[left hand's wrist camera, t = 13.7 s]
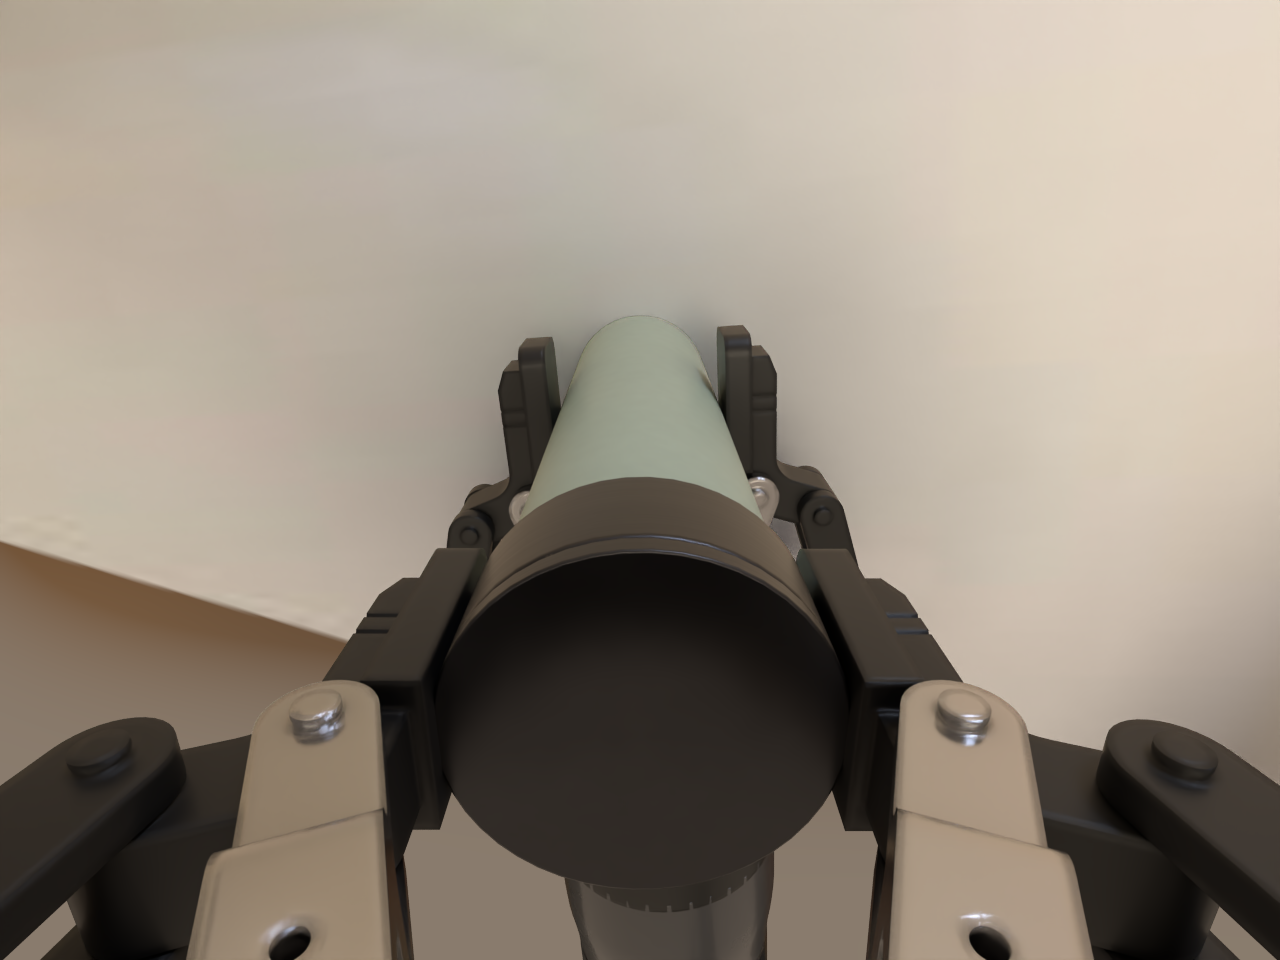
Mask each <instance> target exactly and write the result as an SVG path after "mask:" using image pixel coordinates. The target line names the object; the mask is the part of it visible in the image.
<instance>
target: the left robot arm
mask: <svg viewBox="0 0 1280 960" xmlns="http://www.w3.org/2000/svg"><path fill="white" fill-rule="evenodd" d="M486 563H487V556H486V552H485V550H484V549H483V548H438V549H436V551H435V552H434V554H433V555H432V557H431V559H430V561H429V562H428V564H427V566H426V567H425V569H424V571H423V573H422V574H421V576H420V578H402V579H401V580H399V581H398V582H397V583H395V584H394V585H392V586H391V587H389V588H388V589H386V590H385V591H383V592H382V593H381V594H379V596H378V597H377V599H376V600H375V602H374V603H373V605H372V606H371V608H370V609H369V611H368V612H367V617H364V618H363V620H362V621H361V623H360V624H359V626H358V628H357V629H356V634H353V635H352V637H351V638H350V640H349V641H348V643H347V644H346V646H345V647H344V649H343V650H342V652H341V653H340V655H339V656H338V658H337V659H336V661H335V662H334V664H333V665H332V667H331V668H330V670H329V672H328V673H327V675H326V676H325V678H324V679H323V681H322V682H318V683H314V684H310V685H307V686H304V687H301V688H298V689H296V690H294V691H292V692H289V693H288V694H286V695H284V696H282V697H280V698H279V699H277V700H276V701H275V702H273V703H272V704H271V705H269V706H268V707H267V708H266V709H265V710H264V711H263V712H262V713H261V715H260V716H259V717H258V719H257V720H256V722H255V724H254V727H253V730H252V734H251V735H248V736H244V737H240V738H236V739H231V740H227V741H222V742H217V743H212V744H208V745H204V746H199V747H194V748H189V749H184V750H180V746H179V743H178V739H177V736H176V733H175V730H174V728H173V727H172V726H171V725H170V724H169V723H167V722H165V721H163V720H160V719H156V718H147V717H139V718H128V719H122V720H117V721H112V722H109V723H105V724H102V725H99V726H96V727H93V728H91V729H88V730H86V731H83V732H81V733H79V734H77V735H75V736H73V737H71V738H69V739H67V740H65V741H64V742H62V743H60V744H59V745H57V746H56V747H54V748H53V749H51V750H50V751H48V752H47V753H46V754H44V755H43V756H41V757H40V758H39V759H37V760H36V761H34V762H33V763H32V764H30V765H29V766H27V767H26V768H25V769H23V770H22V771H20V772H19V773H18V774H16V775H15V776H13V777H12V778H11V779H9V780H8V781H6V782H5V783H4V784H2V785H1V786H0V960H3V959H4V958H5V957H7V956H8V955H9V954H10V953H11V952H12V951H13V950H14V949H15V948H16V947H17V946H18V945H19V944H20V943H22V941H24V940H25V939H26V938H27V937H28V936H29V935H30V934H31V933H32V932H33V931H34V930H36V929H37V928H38V927H39V926H40V925H41V924H42V923H43V922H44V921H45V920H46V919H47V918H48V917H49V916H51V915H52V914H53V913H54V912H55V911H56V910H57V909H58V908H59V907H60V906H61V905H62V904H63V903H65V902H66V901H67V902H68V905H69V907H70V910H71V912H72V915H73V918H74V920H75V923H76V925H75V926H74V927H73V928H72V929H71V930H70V931H69V932H68V933H67V934H66V935H65V936H64V937H63V938H62V939H61V940H60V941H59V942H58V943H57V944H56V945H55V946H54V947H53V948H52V949H51V950H50V951H49V952H48V953H47V954H46V955H45V956H44V957H43V958H42V959H41V960H414V954H413V943H412V932H411V921H410V910H409V899H408V888H407V877H406V868H405V862H404V856H403V854H404V852H405V849H406V847H407V844H408V841H409V838H410V835H411V832H412V830H439V829H440V827H441V824H442V821H443V818H444V815H445V811H446V808H447V805H448V802H449V799H450V796H451V793H452V791H451V789H450V787H449V785H448V783H447V781H446V779H445V777H444V775H443V770H442V763H441V755H440V747H439V739H438V731H437V723H436V715H435V706H434V693H435V687H436V682H437V680H438V677H439V674H440V671H441V668H442V665H443V662H444V660H445V657H446V655H447V653H448V650H449V648H450V646H451V643H452V641H453V639H454V636H455V634H456V631H457V629H458V627H459V624H460V622H461V620H462V617H463V615H464V613H465V610H466V608H467V606H468V603H469V601H470V599H471V596H472V594H473V592H474V589H475V587H476V585H477V582H478V580H479V578H480V575H481V573H482V571H483V569H484V567H485V565H486ZM796 563H797V565H798V567H799V569H800V572H801V574H802V576H803V579H804V581H805V583H806V586H807V588H808V590H809V593H810V595H811V597H812V599H813V602H814V604H815V606H816V609H817V611H818V613H819V616H820V618H821V620H822V623H823V625H824V627H825V630H826V632H827V634H828V637H829V639H830V641H831V644H832V646H833V648H834V651H835V653H836V655H837V658H838V660H839V663H840V665H841V668H842V670H843V672H844V675H845V678H846V683H847V687H848V692H849V696H850V711H849V721H848V728H847V736H846V744H845V752H844V759H843V766H842V770H841V772H840V774H839V777H838V779H837V781H836V784H835V786H834V788H833V789H832V792H833V795H834V798H835V801H836V804H837V807H838V810H839V813H840V816H841V819H842V823H843V826H844V829H845V831H873V833H874V836H875V838H876V841H877V844H878V849H877V855H876V862H875V868H874V877H873V888H872V899H871V910H870V921H869V932H868V943H867V953H866V960H1239V959H1238V958H1237V957H1236V956H1235V955H1234V954H1233V953H1232V952H1231V951H1230V950H1229V949H1228V948H1227V947H1226V946H1225V945H1224V944H1223V943H1222V942H1221V941H1220V940H1219V939H1218V938H1217V937H1216V936H1215V935H1214V934H1213V933H1212V932H1211V931H1210V928H1211V926H1212V923H1213V921H1214V918H1215V916H1216V913H1217V911H1218V908H1219V906H1220V907H1221V908H1222V909H1223V910H1224V911H1225V912H1226V913H1227V914H1228V915H1229V916H1231V917H1232V918H1233V919H1234V920H1235V921H1236V922H1237V923H1238V924H1239V925H1240V926H1241V927H1242V928H1243V929H1245V930H1246V931H1247V932H1248V933H1249V934H1250V935H1251V936H1252V937H1253V938H1254V939H1255V940H1256V941H1257V942H1258V943H1260V944H1261V945H1262V946H1263V947H1264V948H1265V949H1266V950H1267V951H1268V952H1269V953H1270V954H1271V955H1272V956H1274V957H1275V958H1276V959H1277V960H1280V786H1279V785H1278V784H1276V783H1275V782H1274V781H1272V780H1271V779H1269V778H1268V777H1267V776H1265V775H1264V774H1262V773H1261V772H1260V771H1258V770H1257V769H1255V768H1254V767H1253V766H1251V765H1250V764H1248V763H1247V762H1246V761H1244V760H1243V759H1241V758H1240V757H1239V756H1237V755H1236V754H1235V753H1233V752H1232V751H1230V750H1229V749H1227V748H1226V747H1224V746H1222V745H1221V744H1219V743H1217V742H1215V741H1214V740H1212V739H1210V738H1208V737H1206V736H1204V735H1201V734H1199V733H1197V732H1194V731H1192V730H1189V729H1186V728H1184V727H1180V726H1177V725H1174V724H1170V723H1165V722H1161V721H1154V720H1139V719H1136V720H1127V721H1124V722H1120V723H1118V724H1116V725H1114V726H1113V727H1112V728H1111V729H1110V730H1109V732H1108V734H1107V737H1106V741H1105V744H1104V747H1103V751H1100V750H1096V749H1091V748H1086V747H1081V746H1077V745H1072V744H1067V743H1063V742H1058V741H1053V740H1049V739H1045V738H1041V737H1037V736H1034V735H1031V734H1028V731H1027V727H1026V724H1025V722H1024V720H1023V719H1022V717H1021V716H1020V715H1019V713H1018V712H1017V711H1016V710H1015V709H1014V708H1013V707H1012V706H1011V705H1009V704H1008V703H1007V702H1005V701H1004V700H1003V699H1001V698H1000V697H998V696H996V695H994V694H993V693H991V692H988V691H986V690H984V689H982V688H979V687H976V686H973V685H970V684H966V683H963V681H962V680H961V678H960V677H959V675H958V674H957V672H956V671H955V669H954V668H953V666H952V665H951V663H950V662H949V660H948V659H947V657H946V656H945V654H944V653H943V651H942V650H941V648H940V647H939V645H938V644H937V642H936V641H935V639H934V638H933V636H932V635H931V634H929V633H928V631H929V630H928V629H927V627H926V626H925V624H924V623H923V621H922V620H921V618H918V614H917V612H916V611H915V609H914V608H913V606H912V605H911V603H910V602H909V600H908V599H907V597H906V596H905V595H904V594H903V593H901V592H900V591H898V590H897V589H895V588H894V587H892V586H891V585H890V584H888V583H887V582H885V581H884V580H882V579H865V578H864V576H863V575H862V573H861V571H860V569H859V568H858V566H857V564H856V563H855V561H854V559H853V558H852V556H851V554H850V553H849V551H848V550H847V549H800V550H799V552H798V555H797V560H796Z"/></svg>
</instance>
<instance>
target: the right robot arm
mask: <svg viewBox="0 0 1280 960" xmlns="http://www.w3.org/2000/svg"><path fill="white" fill-rule="evenodd" d="M717 366H718V404H719V406H720V409H721V412H722V414H723V417H724V419H725V422H726V425H727V427H728V430H729V432H730V435H731V438H732V440H733V443H734V446H735V448H736V451H737V453H738V456H739V459H740V461H741V464H742V466H743V469H744V472H745V474H746V477H747V479H748V482H749V485H750V487H751V490H752V493H753V495H754V498H755V500H756V503H757V506H758V508H759V511H760V513H761V516H762V519H763V521H764V522H765V523H766V524H767V525H768V526H769V527H770V524H771V522H772V519H773V517H774V518H778V519H781V520H785V521H789V522H792V523H795V527H796V530H797V534H798V537H799V540H800V544H801V547H802V549H847V550H848V551H849V553H850V554H851V556H852V558H853V559H854V561H855V563H856V564H857V566H858V563H857V559H856V555H855V552H854V548H853V544H852V540H851V536H850V532H849V528H848V524H847V521H846V517H845V513H844V509H843V506H842V505H841V503H840V502H839V500H838V499H837V497H836V496H835V494H834V492H833V491H832V489H831V488H830V486H829V485H828V483H827V482H826V480H825V479H824V477H823V476H822V474H821V473H820V472H819V471H818V470H817V469H816V468H814V467H811V466H800V467H794V466H790V465H787V464H784V463H781V462H780V461H778V460H777V459H776V423H777V412H776V408H777V397H776V394H777V373H776V371H775V368H774V366H773V364H772V361H771V359H770V356H769V355H768V354H767V352H766V351H765V350H764V349H763V347H762V346H761V345H759V346H752V344H751V337H750V334H749V332H748V331H747V330H746V328H745V327H744V326H743V325H737V326H722V327H718V328H717ZM498 394H499V401H500V409H501V416H502V423H503V430H504V437H505V444H506V452H507V459H508V466H509V474H510V477H508V478H507V479H505V480H503V481H501V482H499V483H496V484H494V485H490V484H482V485H478V486H476V487H474V488H473V489H472V490H471V491H470V493H469V494H468V496H467V498H466V500H465V503H464V506H463V508H462V510H461V512H460V513H459V514H458V515H457V516H456V517H455V519H454V520H453V522H452V524H451V525H450V528H449V532H448V540H447V548H483V549H484V550H485V552H486V556H487V561H488V559H489V557H490V556H491V554H492V552H493V551H494V550H495V548H496V547H497V545H498V544H499V543H500V541H501V539H503V537H504V536H505V535H506V534H507V533H508V532H509V531H510V530H511V529H512V528H513V527H514V526H515V525H516V524H517V523H518V522H519V519H520V516H521V514H522V511H523V509H524V506H525V503H526V501H527V498H528V495H529V493H530V490H531V487H532V485H533V482H534V479H535V477H536V474H537V471H538V469H539V466H540V463H541V461H542V458H543V455H544V453H545V450H546V448H547V445H548V442H549V440H550V437H551V434H552V432H553V429H554V426H555V424H556V421H557V418H558V416H559V413H560V410H561V404H560V395H559V386H558V376H557V367H556V358H555V349H554V343H553V339H552V337H541V338H527V339H526V340H525V341H524V342H523V344H522V345H521V346H520V347H519V351H518V360H514V361H511V362H510V364H509V365H508V366H507V367H506V369H505V370H504V371H503V374H502V377H501V381H500V385H499V389H498ZM858 568H859V567H858ZM773 880H774V852H772V853H770V854H769V855H767V856H765V857H763V858H762V859H760V860H758V861H756V862H755V863H753V864H751V865H749V866H746V867H744V868H742V869H739V870H737V871H735V872H733V873H730V874H727V875H724V876H721V877H718V878H715V879H712V880H709V881H705V882H700V883H695V884H691V885H686V886H680V887H671V888H662V889H622V888H610V887H604V886H598V885H592V884H587V883H582V882H579V881H575V880H572V879H568V878H565V884H566V889H567V894H568V899H569V903H570V907H571V910H572V914H573V917H574V919H575V922H576V925H577V928H578V931H579V934H580V939H581V948H582V955H583V960H767V918H768V914H769V909H770V904H771V898H772V890H773Z"/></svg>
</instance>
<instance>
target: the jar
mask: <svg viewBox="0 0 1280 960" xmlns="http://www.w3.org/2000/svg"><path fill="white" fill-rule="evenodd" d="M624 477H656V478H666V479H675V480H679V481H683V482H688V483H692V484H696V485H699V486H702V487H705V488H707V489H710V490H713V491H716V492H718V493H720V494H722V495H724V496H726V497H728V498H730V499H732V500H734V501H736V502H738V503H740V504H741V505H743V506H744V507H745V508H747V509H748V510H750V511H751V512H753V513H754V514H755V515H757V516H758V517H759V518H760V519H761V520H762V521H763V519H762V516H761V513H760V511H759V508H758V506H757V503H756V500H755V498H754V495H753V493H752V490H751V487H750V485H749V482H748V479H747V477H746V474H745V472H744V469H743V466H742V464H741V461H740V459H739V456H738V453H737V451H736V448H735V446H734V443H733V440H732V438H731V435H730V432H729V430H728V427H727V425H726V422H725V419H724V417H723V414H722V412H721V409H720V406H719V404H718V401H717V399H716V396H715V393H714V391H713V388H712V386H711V383H710V380H709V378H708V375H707V372H706V370H705V367H704V365H703V362H702V359H701V357H700V354H699V352H698V350H697V348H696V347H695V345H694V344H693V342H692V341H691V339H690V338H689V337H688V336H687V335H686V334H685V333H684V332H683V331H682V330H681V329H679V328H678V327H676V326H675V325H673V324H671V323H669V322H667V321H665V320H662V319H659V318H656V317H651V316H630V317H626V318H622V319H619V320H616V321H614V322H612V323H610V324H608V325H606V326H605V327H603V328H602V329H601V330H599V331H598V332H597V333H596V334H595V335H594V336H593V337H592V339H591V340H590V341H589V342H588V344H587V345H586V347H585V349H584V351H583V353H582V355H581V357H580V360H579V363H578V365H577V368H576V371H575V373H574V376H573V379H572V381H571V384H570V386H569V389H568V392H567V394H566V397H565V400H564V402H563V405H562V408H561V410H560V413H559V416H558V418H557V421H556V424H555V426H554V429H553V432H552V434H551V437H550V440H549V442H548V445H547V448H546V450H545V453H544V455H543V458H542V461H541V463H540V466H539V469H538V471H537V474H536V477H535V479H534V482H533V485H532V487H531V490H530V493H529V495H528V498H527V501H526V503H525V506H524V509H523V511H522V514H521V516H520V519H519V521H520V520H521V519H523V518H524V517H525V516H526V515H528V514H529V513H530V512H532V511H533V510H534V509H536V508H537V507H539V506H540V505H542V504H544V503H545V502H547V501H549V500H551V499H552V498H554V497H556V496H558V495H560V494H563V493H565V492H568V491H570V490H572V489H575V488H577V487H580V486H584V485H588V484H591V483H595V482H599V481H603V480H610V479H617V478H624Z"/></svg>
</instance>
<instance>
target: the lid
mask: <svg viewBox="0 0 1280 960" xmlns="http://www.w3.org/2000/svg"><path fill="white" fill-rule="evenodd" d="M434 706H435V715H436V723H437V731H438V739H439V747H440V755H441V763H442V770H443V775H444V777H445V779H446V781H447V783H448V785H449V787H450V789H451V791H452V793H453V794H454V796H455V797H456V799H457V800H458V802H459V803H460V805H461V806H462V808H463V809H464V810H465V812H466V813H467V814H468V815H469V816H470V817H471V818H472V820H473V821H474V822H475V823H476V824H477V825H478V826H479V827H480V828H481V829H482V830H483V831H484V832H485V833H487V834H488V835H489V836H490V837H491V838H492V839H493V840H495V841H496V842H497V843H498V844H500V845H501V846H503V847H504V848H506V849H507V850H508V851H510V852H511V853H513V854H514V855H516V856H517V857H519V858H521V859H523V860H525V861H527V862H529V863H531V864H533V865H534V866H536V867H538V868H541V869H543V870H546V871H548V872H551V873H554V874H556V875H558V876H561V877H565V878H568V879H572V880H575V881H579V882H582V883H587V884H592V885H598V886H604V887H610V888H622V889H662V888H671V887H680V886H686V885H691V884H695V883H700V882H705V881H709V880H712V879H715V878H718V877H721V876H724V875H727V874H730V873H733V872H735V871H737V870H739V869H742V868H744V867H746V866H749V865H751V864H753V863H755V862H756V861H758V860H760V859H762V858H763V857H765V856H767V855H769V854H770V853H772V852H774V851H775V850H776V849H778V848H779V847H780V846H782V845H783V844H784V843H786V842H787V841H789V840H790V839H791V838H792V837H793V836H795V835H796V834H797V833H798V832H799V831H800V830H801V829H802V828H803V827H804V826H805V825H806V824H807V823H808V822H809V821H810V820H811V819H812V817H813V816H814V815H815V814H816V813H817V811H818V810H819V809H820V808H821V807H822V805H823V804H824V802H825V801H826V799H827V797H828V796H829V794H830V792H831V791H832V789H833V788H834V786H835V784H836V781H837V779H838V777H839V774H840V772H841V770H842V766H843V759H844V752H845V744H846V736H847V728H848V721H849V711H850V696H849V692H848V687H847V683H846V678H845V675H844V672H843V670H842V668H841V665H840V663H839V660H838V658H837V655H836V653H835V651H834V648H833V646H832V644H831V641H830V639H829V637H828V634H827V632H826V630H825V627H824V625H823V623H822V620H821V618H820V616H819V613H818V611H817V609H816V606H815V604H814V602H813V599H812V597H811V595H810V593H809V590H808V588H807V586H806V583H805V581H804V579H803V576H802V574H801V572H800V569H799V567H798V565H797V563H796V561H795V560H794V558H793V556H792V555H791V553H790V551H789V550H788V548H787V547H786V545H785V544H784V543H783V542H782V541H781V539H780V538H779V537H778V536H777V534H776V533H775V532H774V531H773V530H772V529H771V528H770V527H769V526H768V525H767V524H766V523H765V522H764V521H762V520H761V519H760V518H759V517H758V516H757V515H755V514H754V513H753V512H751V511H750V510H748V509H747V508H745V507H744V506H743V505H741V504H740V503H738V502H736V501H734V500H732V499H730V498H728V497H726V496H724V495H722V494H720V493H718V492H716V491H713V490H710V489H707V488H705V487H702V486H699V485H696V484H692V483H688V482H683V481H679V480H675V479H666V478H656V477H624V478H617V479H610V480H603V481H599V482H595V483H591V484H588V485H584V486H580V487H577V488H575V489H572V490H570V491H568V492H565V493H563V494H560V495H558V496H556V497H554V498H552V499H551V500H549V501H547V502H545V503H544V504H542V505H540V506H539V507H537V508H536V509H534V510H533V511H532V512H530V513H529V514H528V515H526V516H525V517H524V518H523V519H521V520H520V521H519V522H518V523H517V524H516V525H515V526H514V527H513V528H512V529H511V530H510V531H509V532H508V533H507V534H506V535H505V536H504V537H503V539H502V540H501V541H500V543H499V544H498V545H497V547H496V548H495V550H494V551H493V552H492V554H491V556H490V557H489V559H488V561H487V563H486V565H485V567H484V569H483V571H482V573H481V575H480V578H479V580H478V582H477V585H476V587H475V589H474V592H473V594H472V596H471V599H470V601H469V603H468V606H467V608H466V610H465V613H464V615H463V617H462V620H461V622H460V624H459V627H458V629H457V631H456V634H455V636H454V639H453V641H452V643H451V646H450V648H449V650H448V653H447V655H446V657H445V660H444V662H443V665H442V668H441V671H440V674H439V677H438V680H437V682H436V687H435V693H434Z"/></svg>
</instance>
